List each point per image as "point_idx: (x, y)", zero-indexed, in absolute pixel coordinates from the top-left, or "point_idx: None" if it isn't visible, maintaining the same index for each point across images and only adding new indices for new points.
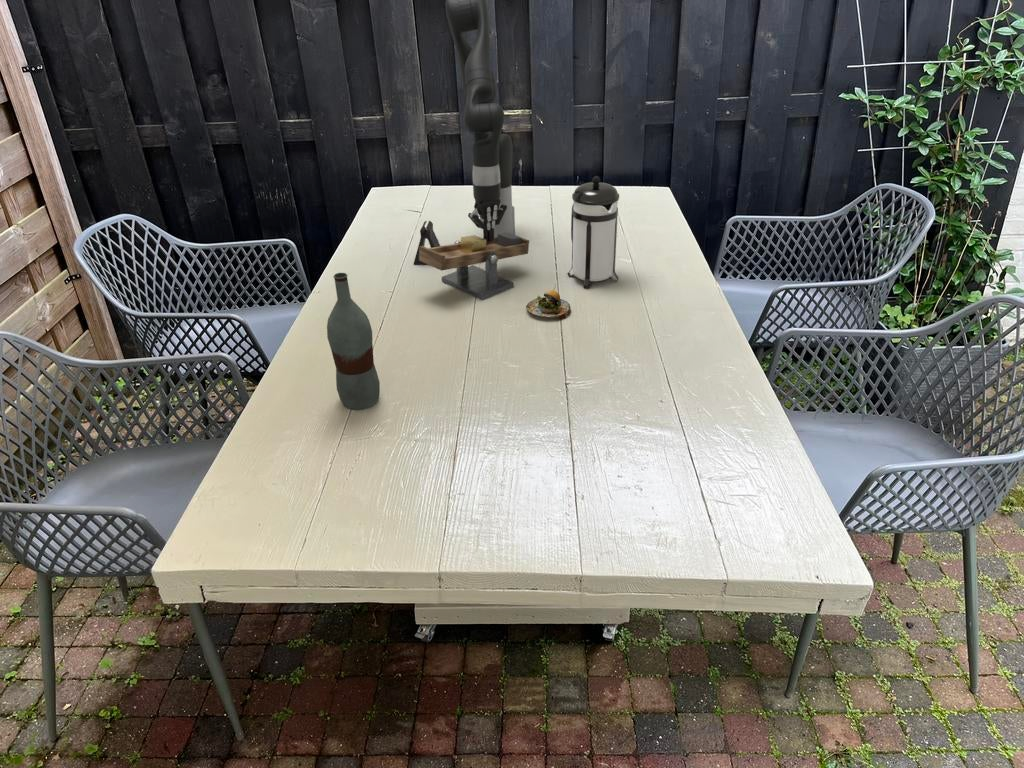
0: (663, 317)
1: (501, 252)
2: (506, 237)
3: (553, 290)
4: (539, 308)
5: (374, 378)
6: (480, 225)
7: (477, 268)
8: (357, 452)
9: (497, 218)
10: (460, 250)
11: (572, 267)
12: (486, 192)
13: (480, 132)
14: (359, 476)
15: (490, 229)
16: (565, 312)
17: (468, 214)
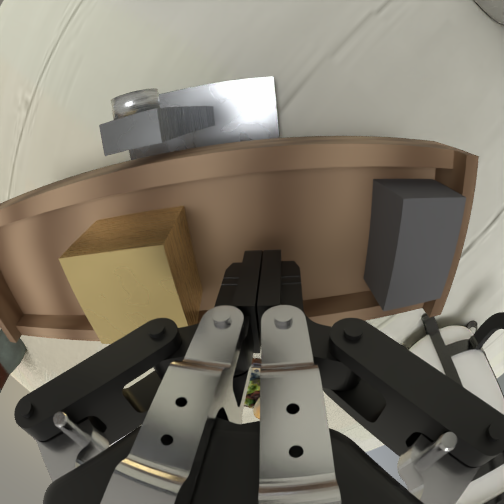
0: (355, 434)
1: None
2: (391, 275)
3: None
4: (250, 376)
5: (14, 369)
6: (140, 395)
7: (267, 115)
8: (26, 369)
9: (349, 408)
10: (95, 223)
11: (422, 350)
12: None
13: None
14: (32, 380)
15: (258, 349)
16: None
17: (17, 413)
